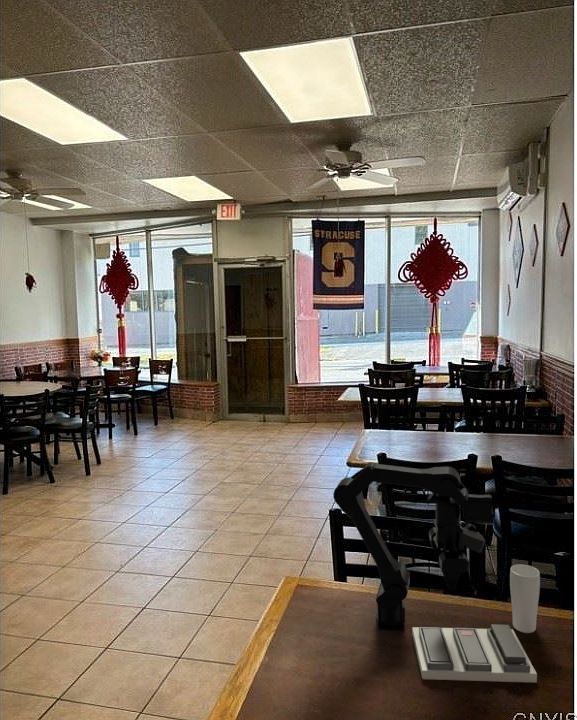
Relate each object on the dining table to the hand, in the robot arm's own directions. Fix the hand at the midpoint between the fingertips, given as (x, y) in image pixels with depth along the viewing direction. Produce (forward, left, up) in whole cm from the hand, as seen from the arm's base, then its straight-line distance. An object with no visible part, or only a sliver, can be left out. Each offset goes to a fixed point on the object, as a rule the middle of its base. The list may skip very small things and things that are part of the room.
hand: (447, 581), depth 134 cm
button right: (+11, -11, -10) cm, 18 cm away
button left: (-5, -11, -11) cm, 16 cm away
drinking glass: (+19, +2, -13) cm, 23 cm away
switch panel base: (+3, -10, -13) cm, 17 cm away
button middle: (+3, -11, -11) cm, 16 cm away
